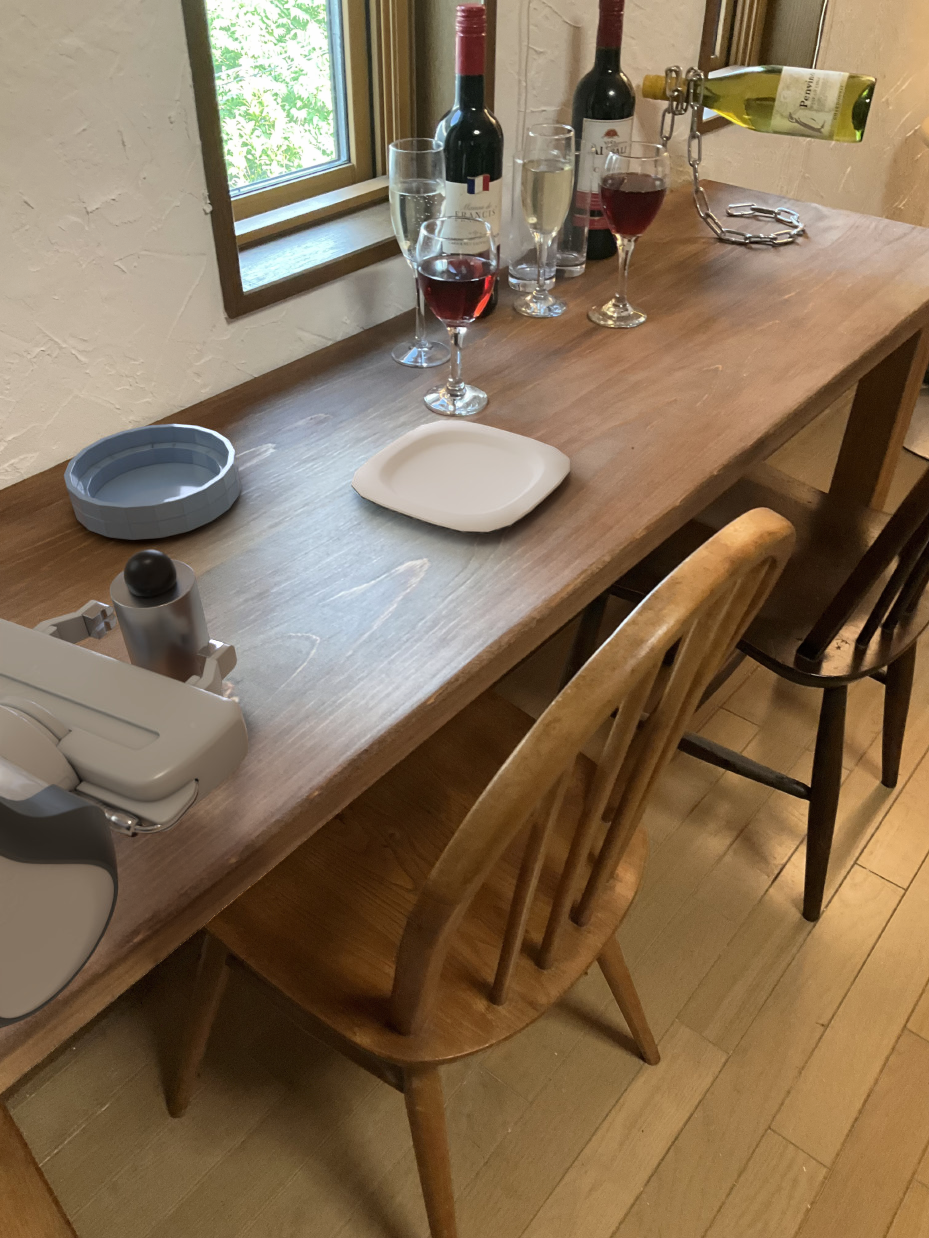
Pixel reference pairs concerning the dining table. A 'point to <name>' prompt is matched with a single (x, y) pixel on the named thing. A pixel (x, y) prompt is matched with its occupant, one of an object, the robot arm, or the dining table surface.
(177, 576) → the pepper mill
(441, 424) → the plate
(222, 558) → the dining table surface
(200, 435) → the bowl
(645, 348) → the dining table surface
